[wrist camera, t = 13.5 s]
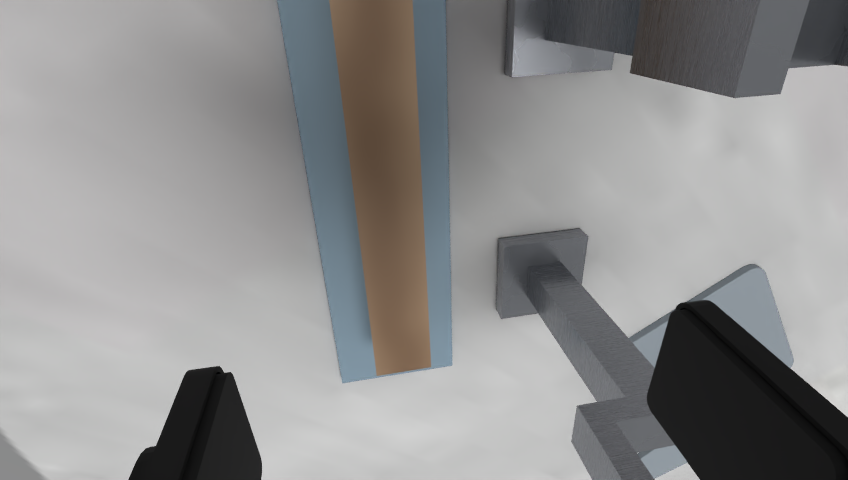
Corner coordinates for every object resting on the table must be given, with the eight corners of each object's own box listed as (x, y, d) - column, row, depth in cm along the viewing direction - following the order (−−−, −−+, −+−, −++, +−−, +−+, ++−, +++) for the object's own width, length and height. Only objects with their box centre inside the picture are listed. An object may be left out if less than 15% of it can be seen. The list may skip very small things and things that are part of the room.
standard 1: (587, 227, 27) (812, 425, 14) (578, 297, 29) (764, 519, 17) (490, 239, 26) (637, 460, 14) (488, 310, 29) (612, 554, 16)
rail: (398, -60, 18) (408, -70, 16) (421, 332, 28) (431, 367, 25) (322, -58, 18) (320, -68, 15) (372, 340, 27) (376, 376, 25)
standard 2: (626, -52, 21) (1098, -137, 8) (610, 66, 23) (954, 146, 10) (498, -47, 20) (796, -135, 7) (494, 75, 22) (714, 172, 9)
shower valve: (602, 434, 28) (827, 300, 26) (563, 372, 33) (751, 255, 31) (665, 516, 34) (853, 411, 32) (624, 452, 39) (786, 358, 37)
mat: (439, -151, 18) (442, -156, 17) (450, 359, 30) (452, 365, 29) (253, -151, 17) (250, -155, 16) (342, 376, 29) (342, 383, 28)
